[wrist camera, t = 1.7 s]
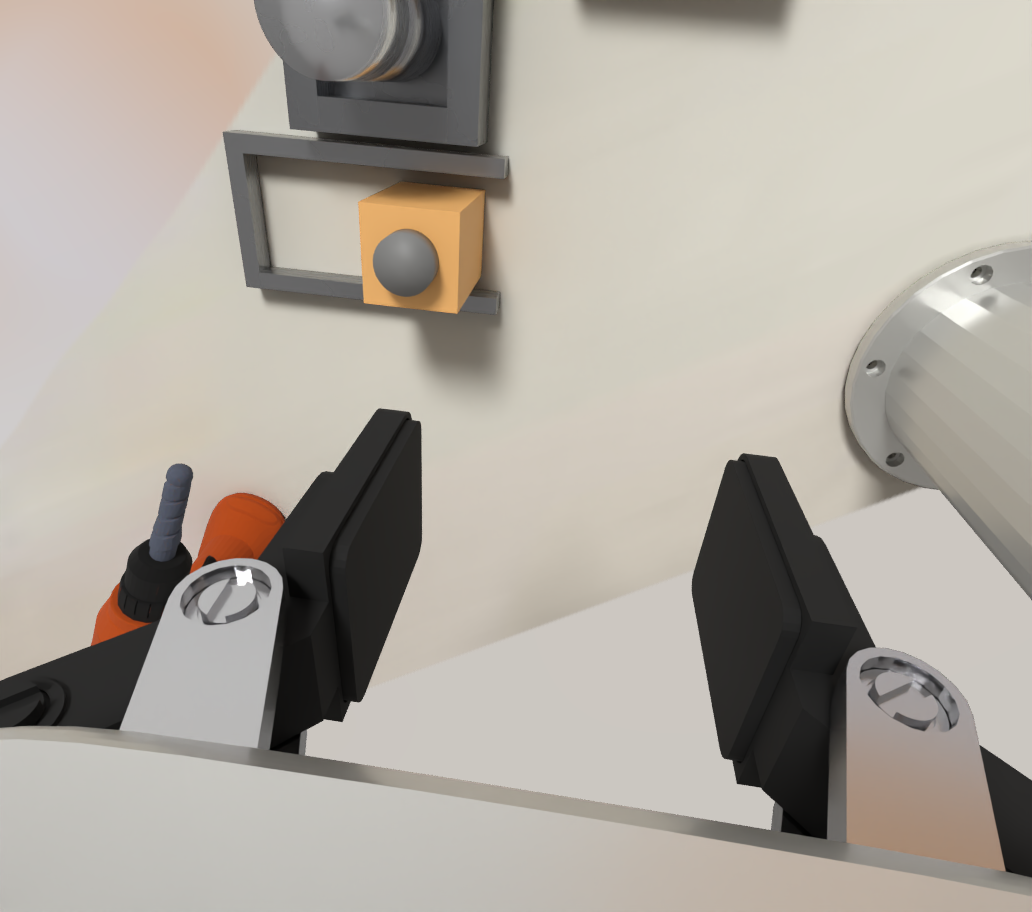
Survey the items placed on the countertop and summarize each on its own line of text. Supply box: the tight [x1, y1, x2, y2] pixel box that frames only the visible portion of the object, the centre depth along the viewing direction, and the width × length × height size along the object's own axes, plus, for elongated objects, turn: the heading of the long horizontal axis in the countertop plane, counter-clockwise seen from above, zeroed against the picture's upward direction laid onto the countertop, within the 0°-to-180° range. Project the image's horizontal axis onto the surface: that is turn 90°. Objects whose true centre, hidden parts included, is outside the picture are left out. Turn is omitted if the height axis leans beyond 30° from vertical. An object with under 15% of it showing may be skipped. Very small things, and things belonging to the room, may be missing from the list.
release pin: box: [358, 182, 485, 314], centre depth 27 cm, size 4×4×7 cm
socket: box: [283, 0, 494, 147], centre depth 25 cm, size 8×8×3 cm
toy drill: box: [91, 464, 285, 646], centre depth 32 cm, size 5×19×15 cm, turn 154°
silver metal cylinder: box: [254, 0, 442, 82], centre depth 22 cm, size 4×4×8 cm
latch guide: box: [223, 130, 509, 315], centre depth 30 cm, size 13×7×1 cm, turn 86°
